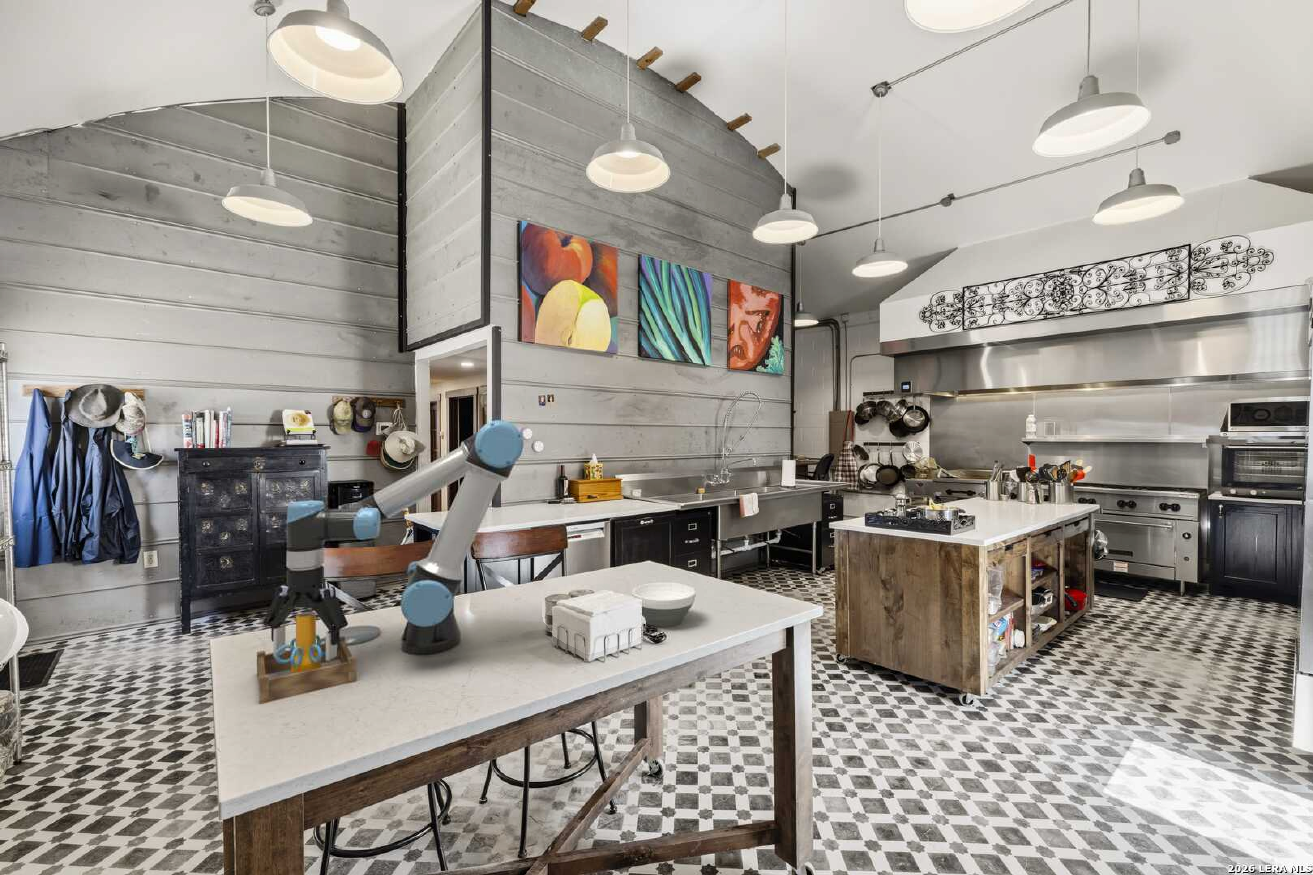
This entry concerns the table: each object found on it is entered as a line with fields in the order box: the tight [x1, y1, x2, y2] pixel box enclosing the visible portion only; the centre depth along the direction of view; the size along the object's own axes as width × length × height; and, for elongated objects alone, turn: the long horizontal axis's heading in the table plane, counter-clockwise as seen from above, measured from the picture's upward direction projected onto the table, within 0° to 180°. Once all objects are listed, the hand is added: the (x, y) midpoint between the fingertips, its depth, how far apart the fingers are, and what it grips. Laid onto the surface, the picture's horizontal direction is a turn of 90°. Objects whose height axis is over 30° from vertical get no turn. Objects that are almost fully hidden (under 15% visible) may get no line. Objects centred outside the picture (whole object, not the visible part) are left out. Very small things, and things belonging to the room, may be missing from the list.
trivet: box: [324, 625, 381, 647], centre depth 159 cm, size 14×14×1 cm
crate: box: [256, 635, 357, 705], centre depth 132 cm, size 18×18×5 cm
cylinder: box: [275, 611, 326, 674], centre depth 132 cm, size 12×10×15 cm
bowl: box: [631, 582, 697, 628], centre depth 172 cm, size 20×20×10 cm
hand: (305, 656), depth 132 cm, fingers open, 13 cm apart
